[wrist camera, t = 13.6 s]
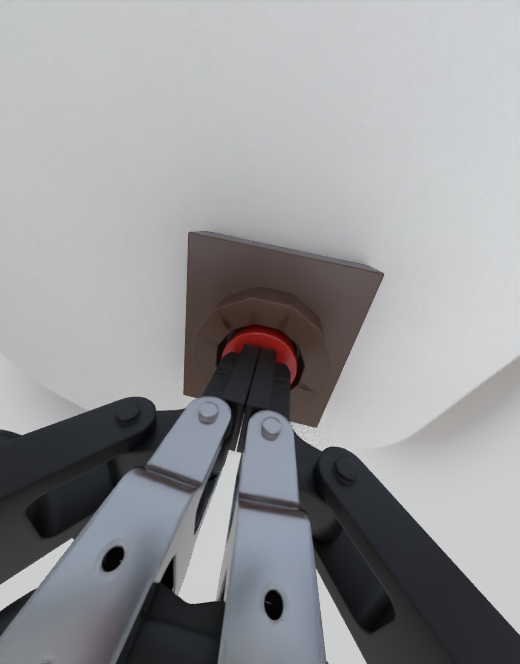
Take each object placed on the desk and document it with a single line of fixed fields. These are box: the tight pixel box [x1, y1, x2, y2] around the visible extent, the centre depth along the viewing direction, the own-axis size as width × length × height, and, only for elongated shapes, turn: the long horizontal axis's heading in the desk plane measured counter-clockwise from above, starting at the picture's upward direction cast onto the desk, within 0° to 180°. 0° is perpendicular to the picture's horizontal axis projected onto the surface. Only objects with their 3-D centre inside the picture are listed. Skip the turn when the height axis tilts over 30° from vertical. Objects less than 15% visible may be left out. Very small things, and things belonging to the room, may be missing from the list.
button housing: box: [183, 231, 384, 428], centre depth 12 cm, size 10×9×4 cm
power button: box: [221, 324, 297, 383], centre depth 11 cm, size 4×4×2 cm
